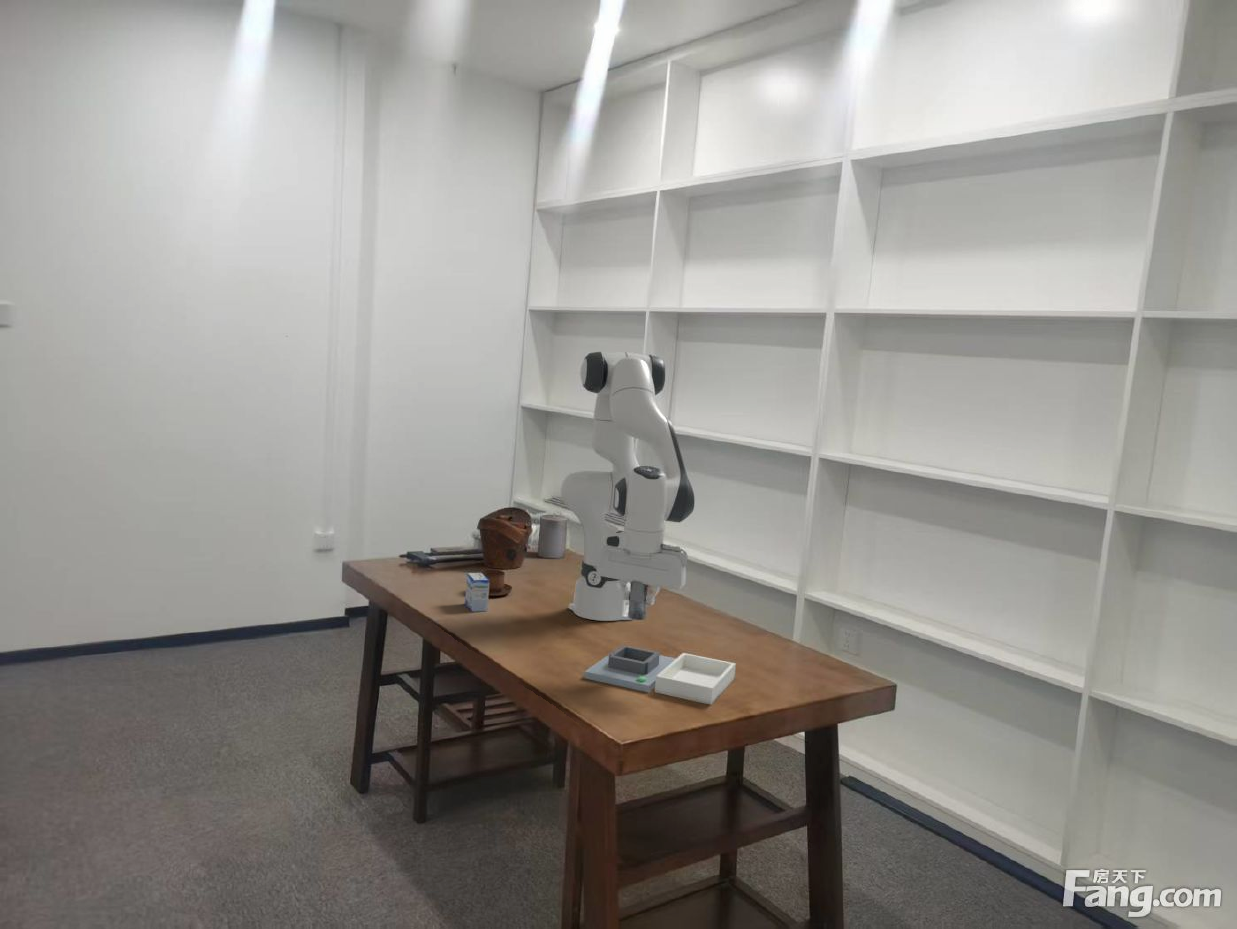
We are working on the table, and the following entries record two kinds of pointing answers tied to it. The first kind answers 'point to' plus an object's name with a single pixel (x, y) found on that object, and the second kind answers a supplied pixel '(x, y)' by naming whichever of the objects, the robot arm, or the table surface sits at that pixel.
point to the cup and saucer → (496, 582)
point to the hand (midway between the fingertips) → (638, 602)
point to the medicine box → (477, 592)
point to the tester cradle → (629, 668)
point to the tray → (695, 678)
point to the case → (505, 537)
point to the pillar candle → (552, 536)
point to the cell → (638, 600)
